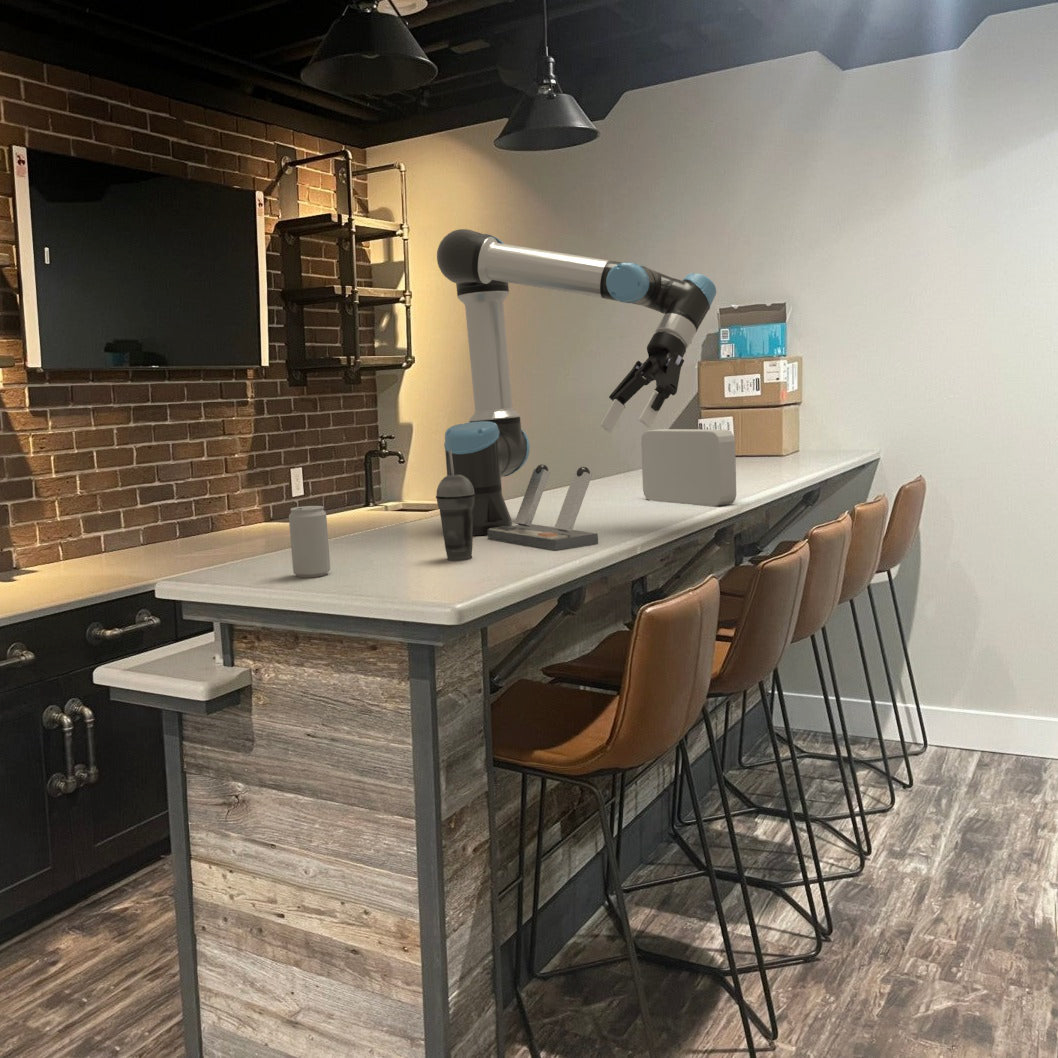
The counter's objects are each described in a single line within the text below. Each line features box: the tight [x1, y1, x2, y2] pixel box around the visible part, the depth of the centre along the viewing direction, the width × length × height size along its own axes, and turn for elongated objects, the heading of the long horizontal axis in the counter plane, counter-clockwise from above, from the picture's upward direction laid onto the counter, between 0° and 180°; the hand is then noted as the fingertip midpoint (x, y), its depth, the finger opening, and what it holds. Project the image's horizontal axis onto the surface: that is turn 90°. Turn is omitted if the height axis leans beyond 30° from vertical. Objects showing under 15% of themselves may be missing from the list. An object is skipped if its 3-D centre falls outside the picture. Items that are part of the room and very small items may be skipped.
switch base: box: [487, 523, 599, 552], centre depth 206 cm, size 10×24×3 cm, turn 34°
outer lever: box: [554, 466, 593, 533], centre depth 201 cm, size 3×4×13 cm
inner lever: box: [514, 463, 551, 527], centre depth 212 cm, size 3×4×13 cm
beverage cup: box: [435, 450, 475, 562], centre depth 189 cm, size 7×7×20 cm
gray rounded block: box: [640, 428, 737, 507], centre depth 257 cm, size 29×8×18 cm, turn 33°
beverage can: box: [288, 505, 331, 579], centre depth 180 cm, size 6×6×12 cm
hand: (624, 426), depth 206 cm, fingers open, 13 cm apart
